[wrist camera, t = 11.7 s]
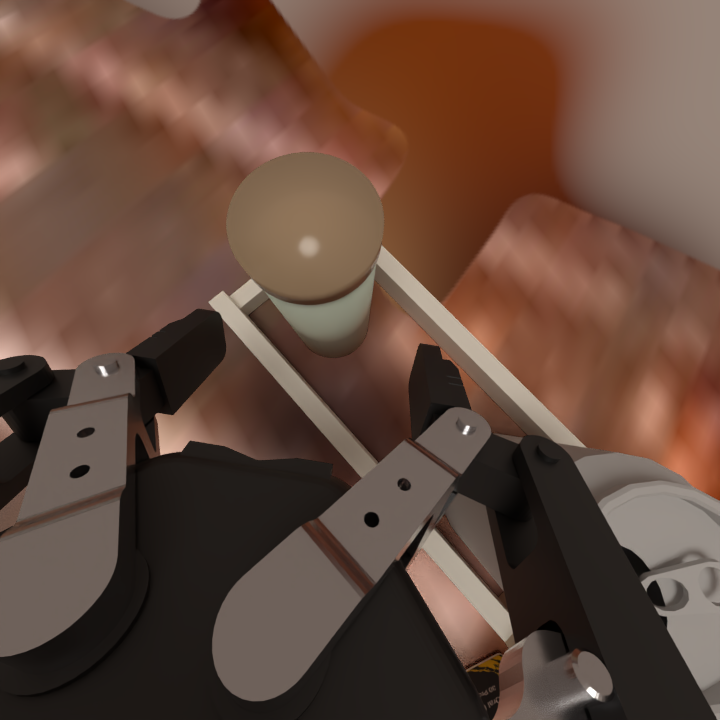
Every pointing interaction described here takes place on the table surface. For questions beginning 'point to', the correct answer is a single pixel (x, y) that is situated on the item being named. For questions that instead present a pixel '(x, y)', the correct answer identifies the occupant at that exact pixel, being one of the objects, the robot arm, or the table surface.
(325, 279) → the pale green capped jar
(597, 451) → the can
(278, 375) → the white rectangular frame
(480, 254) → the table surface
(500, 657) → the medicine bottle
